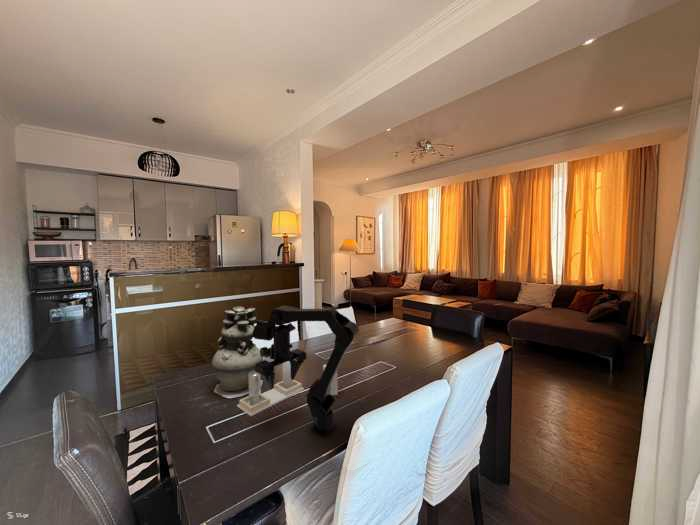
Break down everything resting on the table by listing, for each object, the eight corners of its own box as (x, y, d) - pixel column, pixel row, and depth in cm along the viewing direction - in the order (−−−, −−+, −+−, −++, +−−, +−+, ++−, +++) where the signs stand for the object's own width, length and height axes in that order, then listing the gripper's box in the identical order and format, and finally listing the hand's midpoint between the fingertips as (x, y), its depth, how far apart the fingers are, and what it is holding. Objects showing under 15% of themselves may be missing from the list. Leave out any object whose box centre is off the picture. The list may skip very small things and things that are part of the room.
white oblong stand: (303, 389, 123) (303, 360, 122) (250, 416, 104) (250, 382, 103) (289, 382, 129) (289, 354, 129) (237, 406, 110) (236, 373, 109)
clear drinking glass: (262, 405, 110) (261, 374, 109) (250, 408, 107) (249, 377, 106) (259, 400, 113) (259, 370, 112) (248, 403, 111) (247, 372, 110)
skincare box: (337, 390, 123) (337, 363, 122) (338, 395, 118) (338, 367, 117) (323, 391, 122) (323, 363, 121) (323, 396, 118) (323, 368, 117)
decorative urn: (272, 383, 130) (273, 308, 128) (232, 404, 112) (233, 316, 110) (241, 371, 141) (242, 302, 139) (200, 389, 122) (201, 309, 121)
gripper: (288, 331, 113) (289, 369, 114) (245, 343, 99) (246, 386, 100) (307, 337, 106) (307, 377, 107) (263, 351, 91) (264, 397, 92)
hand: (282, 384), depth 102 cm, fingers open, 9 cm apart
